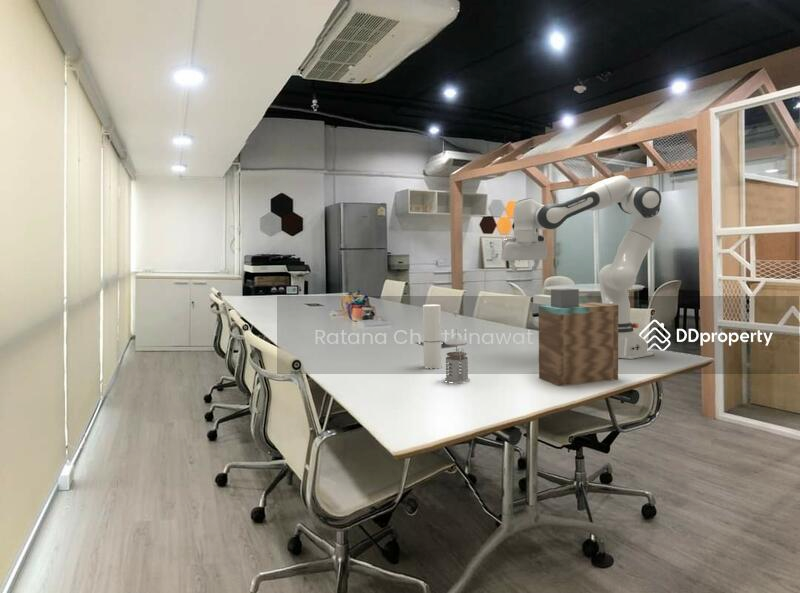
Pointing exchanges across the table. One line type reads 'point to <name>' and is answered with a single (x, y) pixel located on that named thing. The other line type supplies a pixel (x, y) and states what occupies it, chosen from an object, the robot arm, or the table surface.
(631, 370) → the table surface
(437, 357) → the cylindrical container
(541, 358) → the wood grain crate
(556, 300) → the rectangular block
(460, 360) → the french press
